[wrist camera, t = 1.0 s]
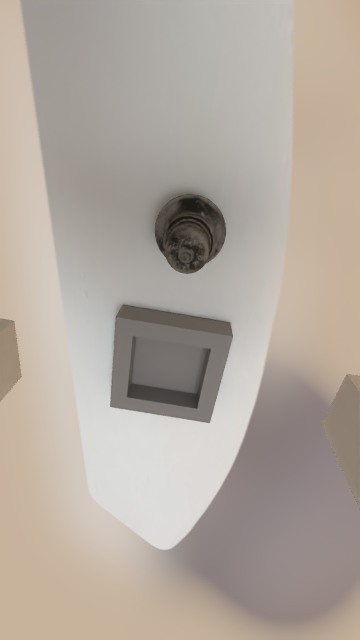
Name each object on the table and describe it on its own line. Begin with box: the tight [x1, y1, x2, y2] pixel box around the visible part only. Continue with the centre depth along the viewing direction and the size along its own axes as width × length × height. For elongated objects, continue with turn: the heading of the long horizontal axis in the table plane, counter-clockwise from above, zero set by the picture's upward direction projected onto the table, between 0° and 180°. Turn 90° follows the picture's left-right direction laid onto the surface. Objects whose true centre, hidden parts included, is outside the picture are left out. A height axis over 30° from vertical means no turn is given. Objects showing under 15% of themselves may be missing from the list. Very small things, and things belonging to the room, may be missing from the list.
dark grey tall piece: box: [155, 194, 226, 274], centre depth 23 cm, size 6×6×12 cm
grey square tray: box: [110, 305, 233, 423], centre depth 33 cm, size 12×12×3 cm
